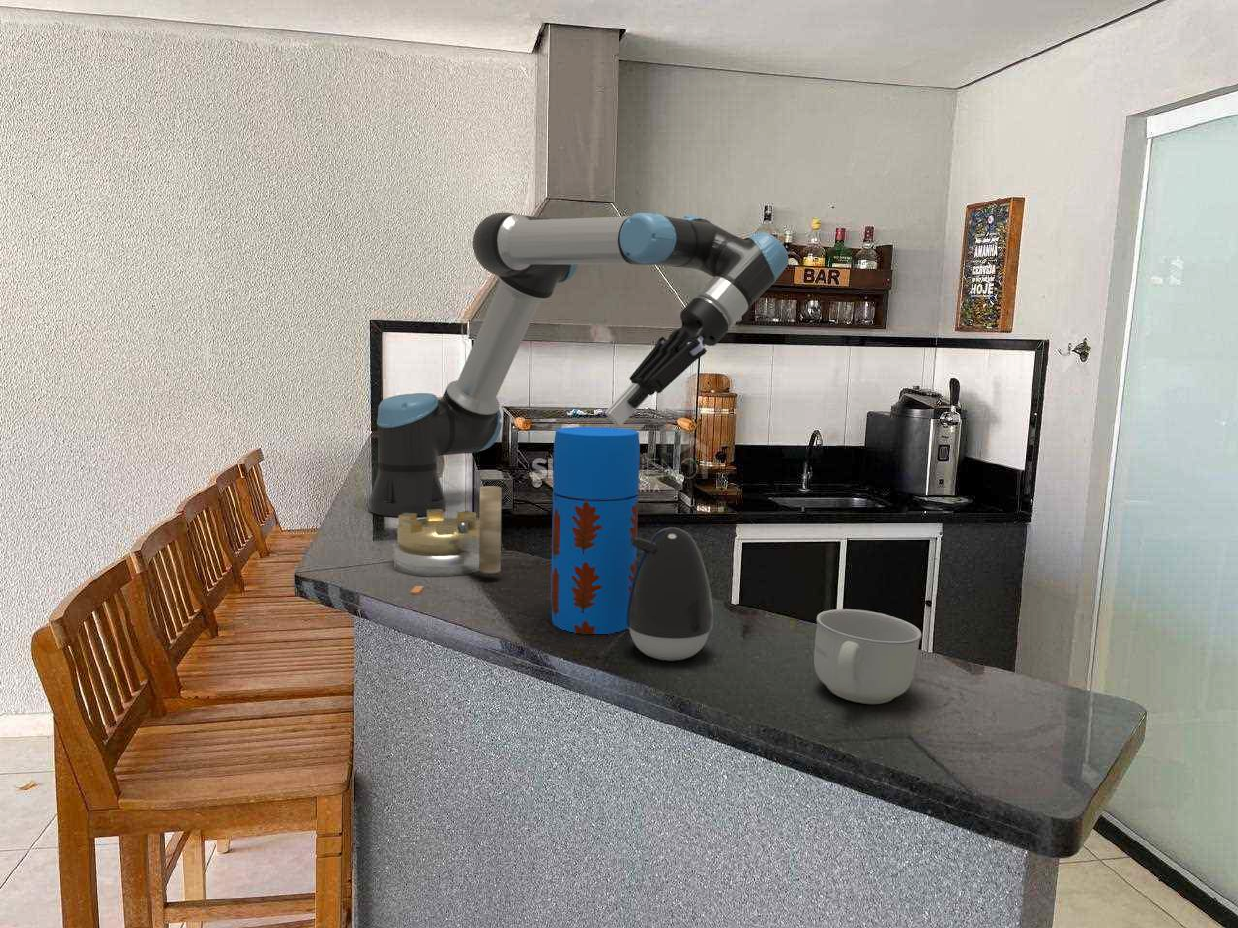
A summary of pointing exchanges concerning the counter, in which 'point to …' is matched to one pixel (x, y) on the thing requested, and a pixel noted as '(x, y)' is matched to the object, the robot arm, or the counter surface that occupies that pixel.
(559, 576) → the thermos
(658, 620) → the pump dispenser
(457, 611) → the counter surface
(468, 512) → the studded brass turntable
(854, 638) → the teacup
